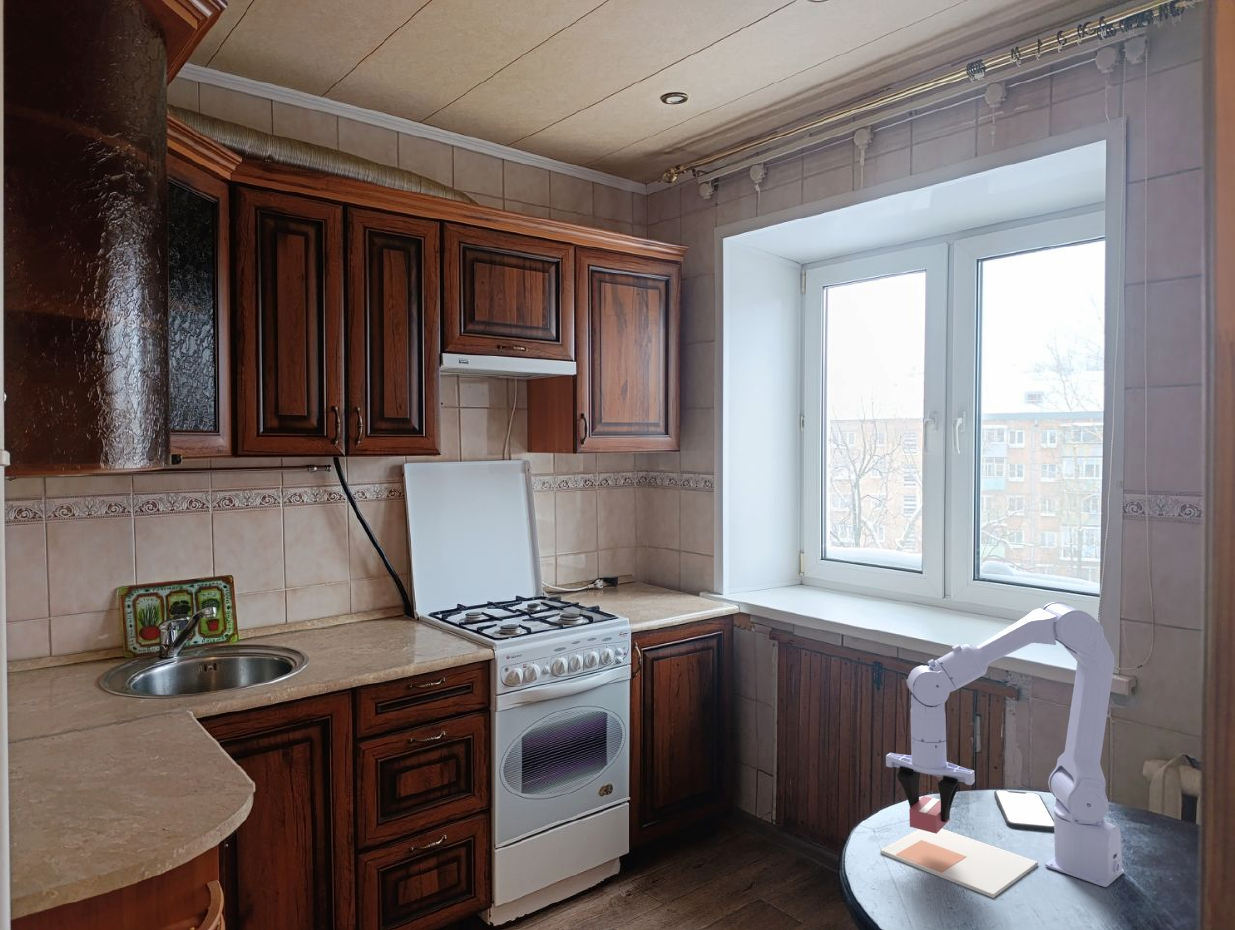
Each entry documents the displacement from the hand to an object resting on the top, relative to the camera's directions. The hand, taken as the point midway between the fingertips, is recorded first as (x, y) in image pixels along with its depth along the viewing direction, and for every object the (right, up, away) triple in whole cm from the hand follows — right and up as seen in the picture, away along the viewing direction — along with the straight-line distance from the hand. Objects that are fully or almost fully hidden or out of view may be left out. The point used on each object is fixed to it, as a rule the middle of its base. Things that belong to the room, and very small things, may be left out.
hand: (929, 816), depth 140 cm
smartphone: (+26, -8, +18) cm, 32 cm away
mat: (+5, -7, 0) cm, 9 cm away
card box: (0, -1, 0) cm, 1 cm away
